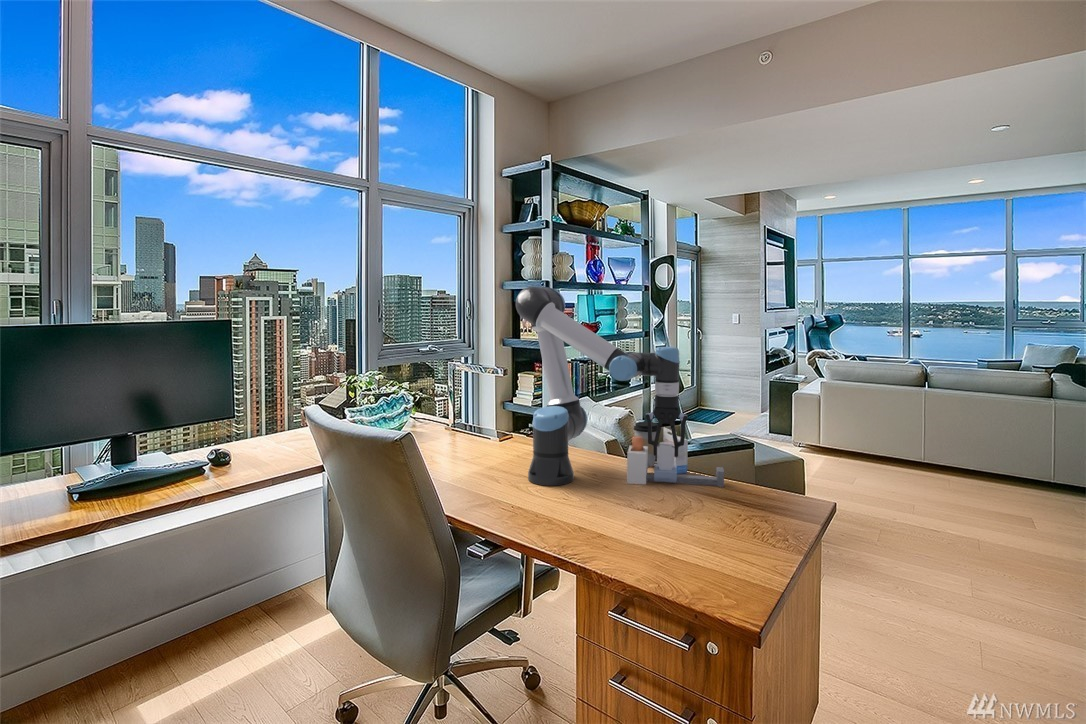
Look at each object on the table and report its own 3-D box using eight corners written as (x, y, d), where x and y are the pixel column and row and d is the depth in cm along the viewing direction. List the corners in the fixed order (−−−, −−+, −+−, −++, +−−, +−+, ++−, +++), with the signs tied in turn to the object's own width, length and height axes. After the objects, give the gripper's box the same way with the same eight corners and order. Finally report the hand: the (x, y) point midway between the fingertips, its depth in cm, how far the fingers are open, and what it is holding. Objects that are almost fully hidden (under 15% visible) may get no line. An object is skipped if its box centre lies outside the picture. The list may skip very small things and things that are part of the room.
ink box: (688, 473, 185) (688, 430, 184) (675, 474, 184) (676, 431, 182) (673, 466, 193) (674, 425, 192) (661, 467, 191) (662, 426, 190)
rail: (646, 482, 175) (646, 467, 175) (647, 477, 180) (647, 462, 180) (723, 487, 170) (724, 471, 169) (722, 482, 175) (722, 467, 174)
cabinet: (627, 483, 174) (627, 452, 174) (629, 474, 184) (629, 445, 183) (645, 484, 173) (646, 453, 172) (647, 475, 183) (647, 446, 182)
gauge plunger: (631, 450, 176) (631, 438, 176) (632, 447, 180) (632, 436, 179) (643, 451, 175) (643, 439, 175) (643, 448, 179) (643, 436, 179)
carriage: (653, 482, 173) (654, 446, 172) (654, 474, 182) (655, 440, 180) (676, 483, 171) (677, 448, 170) (676, 475, 180) (676, 441, 179)
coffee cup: (658, 461, 200) (658, 421, 198) (661, 468, 190) (661, 426, 189) (632, 460, 201) (632, 421, 199) (633, 468, 191) (634, 426, 190)
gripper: (639, 395, 172) (638, 467, 174) (694, 397, 168) (693, 470, 170) (640, 392, 179) (639, 461, 182) (693, 393, 175) (692, 464, 178)
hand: (665, 465), depth 176 cm, fingers closed on carriage, 4 cm apart
